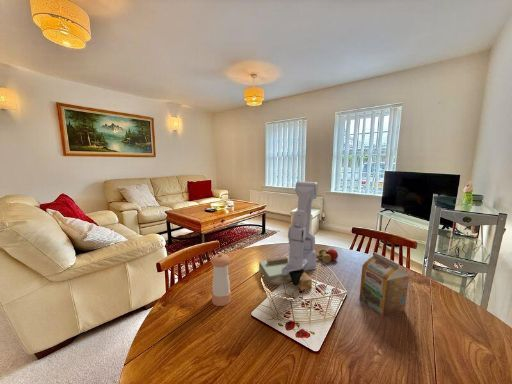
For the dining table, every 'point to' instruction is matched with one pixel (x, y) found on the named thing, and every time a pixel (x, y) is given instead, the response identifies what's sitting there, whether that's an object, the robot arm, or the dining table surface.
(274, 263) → the lid
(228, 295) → the salt shaker
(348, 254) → the dining table surface
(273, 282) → the toolbox
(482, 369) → the dining table surface
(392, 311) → the milk carton
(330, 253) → the kendama
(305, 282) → the tan block
